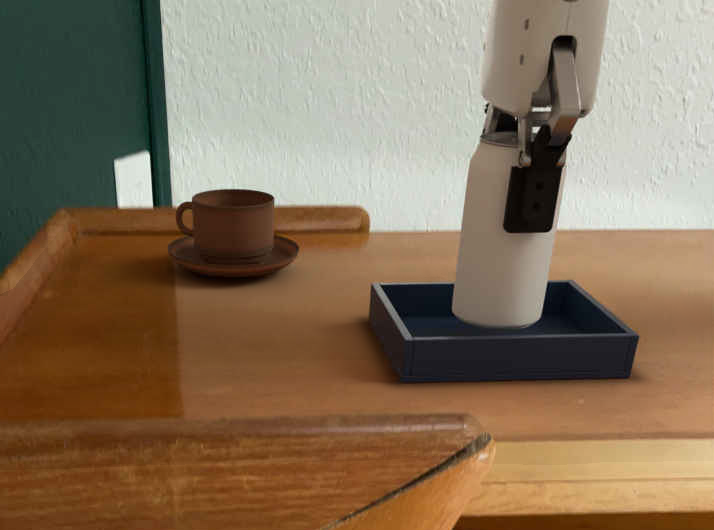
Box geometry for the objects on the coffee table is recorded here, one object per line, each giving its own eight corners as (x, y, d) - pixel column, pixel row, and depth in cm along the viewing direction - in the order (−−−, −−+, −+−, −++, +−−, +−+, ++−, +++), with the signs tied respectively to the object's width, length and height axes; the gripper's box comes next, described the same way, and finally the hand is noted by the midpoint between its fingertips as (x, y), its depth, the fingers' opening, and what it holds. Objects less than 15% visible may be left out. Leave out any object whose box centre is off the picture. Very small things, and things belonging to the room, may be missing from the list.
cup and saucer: (153, 283, 84) (149, 209, 81) (186, 248, 94) (183, 181, 91) (287, 291, 83) (289, 216, 79) (307, 255, 92) (309, 186, 89)
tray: (565, 317, 78) (572, 279, 76) (630, 377, 67) (640, 335, 65) (368, 320, 76) (371, 282, 75) (401, 383, 66) (405, 340, 64)
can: (447, 328, 68) (469, 144, 62) (454, 301, 74) (475, 128, 67) (540, 335, 67) (573, 149, 60) (540, 308, 72) (570, 132, 66)
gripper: (684, -107, 49) (610, 251, 60) (569, -96, 64) (525, 191, 74) (542, -109, 49) (492, 252, 59) (458, -97, 63) (429, 192, 73)
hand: (510, 216), depth 66 cm, fingers closed on can, 6 cm apart
